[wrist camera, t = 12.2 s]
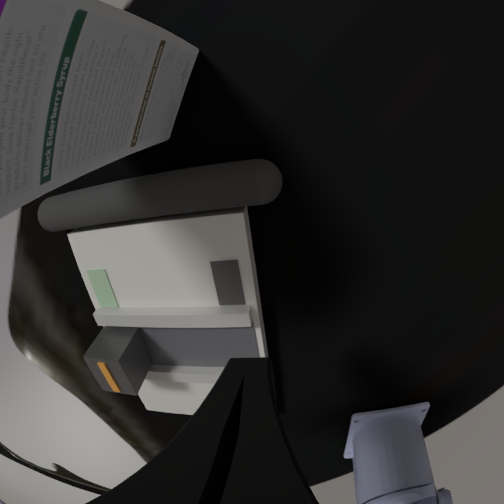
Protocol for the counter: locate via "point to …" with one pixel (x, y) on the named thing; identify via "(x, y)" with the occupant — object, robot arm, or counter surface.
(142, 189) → the dark grey rounded bar
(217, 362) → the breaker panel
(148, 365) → the toggle
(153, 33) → the syrup box
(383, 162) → the counter surface
